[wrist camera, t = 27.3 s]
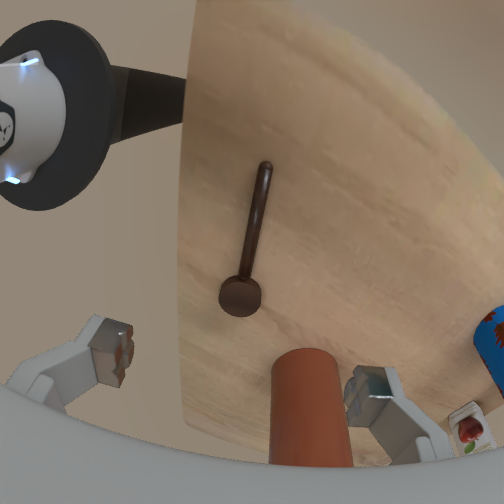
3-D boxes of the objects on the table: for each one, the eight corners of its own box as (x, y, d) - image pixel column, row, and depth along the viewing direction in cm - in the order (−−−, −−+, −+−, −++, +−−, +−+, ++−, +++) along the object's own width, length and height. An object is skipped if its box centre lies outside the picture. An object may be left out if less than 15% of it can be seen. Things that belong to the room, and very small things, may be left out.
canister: (265, 387, 53) (258, 514, 31) (280, 343, 48) (279, 489, 27) (324, 394, 53) (336, 516, 32) (347, 352, 48) (373, 489, 27)
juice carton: (480, 408, 57) (504, 468, 40) (450, 426, 59) (471, 487, 42) (476, 396, 54) (503, 461, 37) (444, 415, 57) (467, 482, 40)
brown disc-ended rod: (243, 155, 36) (241, 158, 35) (291, 165, 36) (292, 168, 35) (218, 305, 46) (216, 312, 44) (257, 312, 46) (256, 320, 44)
